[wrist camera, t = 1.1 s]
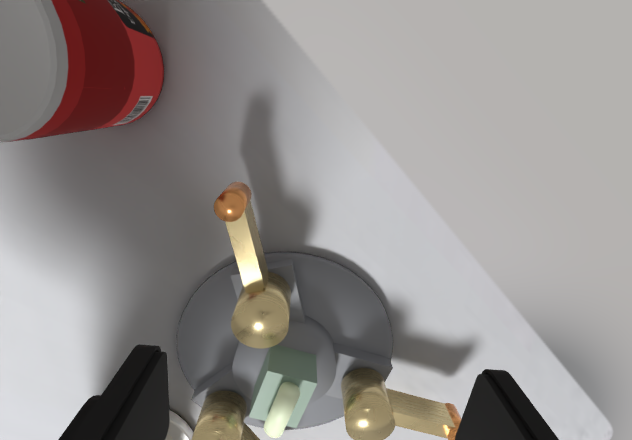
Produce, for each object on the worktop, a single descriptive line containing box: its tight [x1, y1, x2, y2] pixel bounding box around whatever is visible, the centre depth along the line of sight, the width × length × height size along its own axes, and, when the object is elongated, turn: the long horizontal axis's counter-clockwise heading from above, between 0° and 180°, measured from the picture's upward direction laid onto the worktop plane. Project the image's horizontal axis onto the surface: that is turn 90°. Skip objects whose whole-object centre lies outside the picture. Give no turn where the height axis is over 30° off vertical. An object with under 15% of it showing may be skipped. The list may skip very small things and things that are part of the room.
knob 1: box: [214, 182, 291, 349], centre depth 24 cm, size 12×4×4 cm, turn 10°
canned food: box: [0, 0, 164, 142], centre depth 18 cm, size 8×8×11 cm
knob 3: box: [341, 368, 461, 440], centre depth 29 cm, size 12×4×4 cm, turn 70°
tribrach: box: [177, 252, 393, 438], centre depth 28 cm, size 20×20×8 cm
